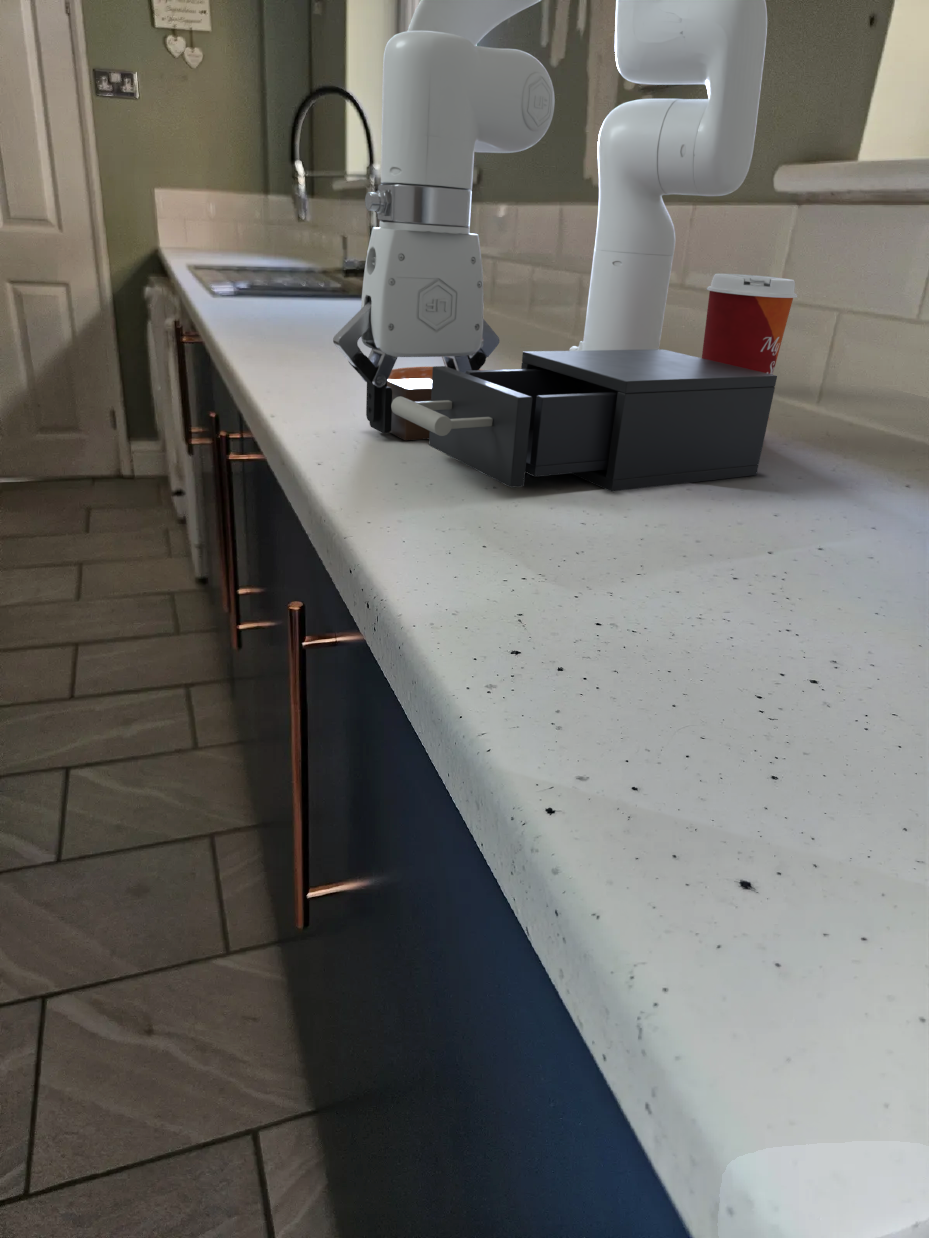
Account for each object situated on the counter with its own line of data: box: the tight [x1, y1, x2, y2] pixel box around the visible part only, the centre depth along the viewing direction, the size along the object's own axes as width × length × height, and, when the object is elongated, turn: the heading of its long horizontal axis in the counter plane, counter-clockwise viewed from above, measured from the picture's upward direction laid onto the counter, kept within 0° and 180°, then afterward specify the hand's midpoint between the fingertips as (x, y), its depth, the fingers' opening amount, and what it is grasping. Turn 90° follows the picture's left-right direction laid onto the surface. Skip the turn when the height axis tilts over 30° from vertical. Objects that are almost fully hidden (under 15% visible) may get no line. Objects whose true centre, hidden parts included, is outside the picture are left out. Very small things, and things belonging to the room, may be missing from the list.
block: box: [387, 379, 432, 442], centre depth 79 cm, size 4×4×4 cm
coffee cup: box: [701, 273, 798, 375], centre depth 84 cm, size 8×8×15 cm
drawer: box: [391, 365, 619, 488], centre depth 68 cm, size 20×13×6 cm, turn 120°
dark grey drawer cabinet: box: [520, 348, 778, 492], centre depth 74 cm, size 16×14×8 cm
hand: (416, 426), depth 79 cm, fingers open, 6 cm apart
